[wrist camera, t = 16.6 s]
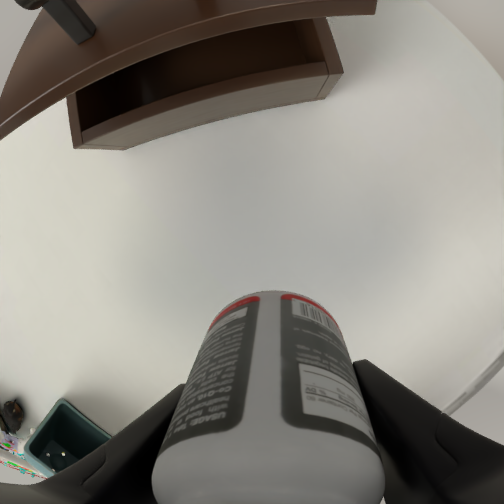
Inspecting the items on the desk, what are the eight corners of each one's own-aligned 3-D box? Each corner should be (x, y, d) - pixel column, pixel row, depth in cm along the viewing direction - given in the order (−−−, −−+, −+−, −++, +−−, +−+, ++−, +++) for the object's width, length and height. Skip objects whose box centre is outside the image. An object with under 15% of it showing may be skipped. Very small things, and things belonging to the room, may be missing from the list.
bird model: (-4, 398, 24) (7, 386, 26) (6, 431, 29) (14, 421, 32) (14, 414, 24) (24, 401, 27) (21, 443, 30) (29, 433, 32)
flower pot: (45, 418, 28) (61, 395, 26) (98, 459, 30) (124, 444, 27) (14, 461, 20) (21, 448, 17) (73, 506, 21) (96, 502, 19)
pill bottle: (217, 398, 11) (166, 595, 3) (196, 290, 10) (54, 532, 2) (339, 393, 11) (372, 598, 3) (344, 280, 9) (458, 548, 1)
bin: (325, 99, 17) (344, 73, 11) (122, 150, 18) (73, 149, 13) (280, -36, 14) (279, -84, 8) (104, 17, 16) (63, -10, 10)
